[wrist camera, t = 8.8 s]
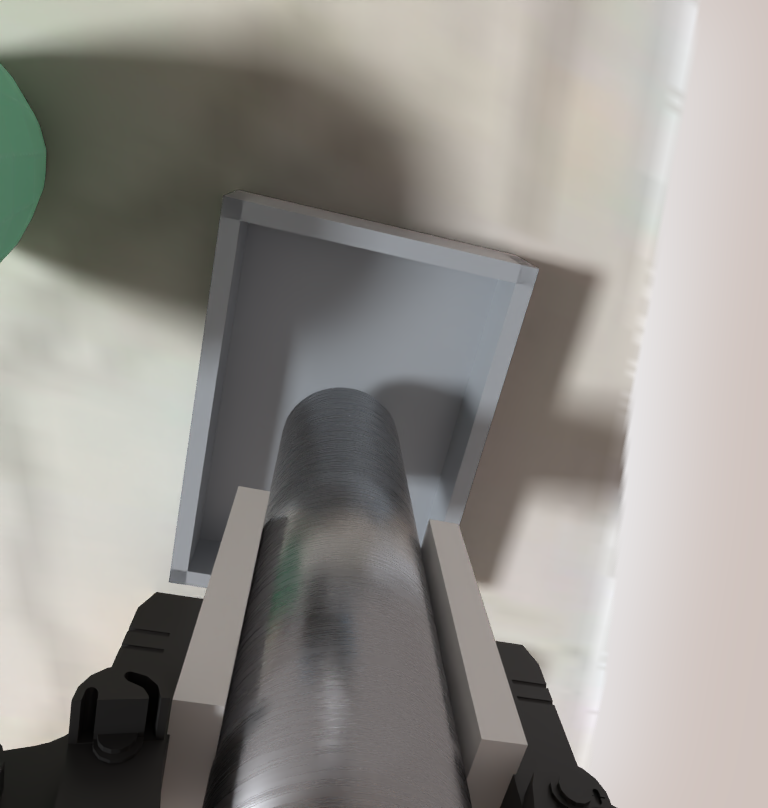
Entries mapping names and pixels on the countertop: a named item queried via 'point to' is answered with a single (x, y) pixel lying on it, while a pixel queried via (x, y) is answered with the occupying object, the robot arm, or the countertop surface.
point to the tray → (343, 354)
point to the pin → (339, 633)
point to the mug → (18, 163)
